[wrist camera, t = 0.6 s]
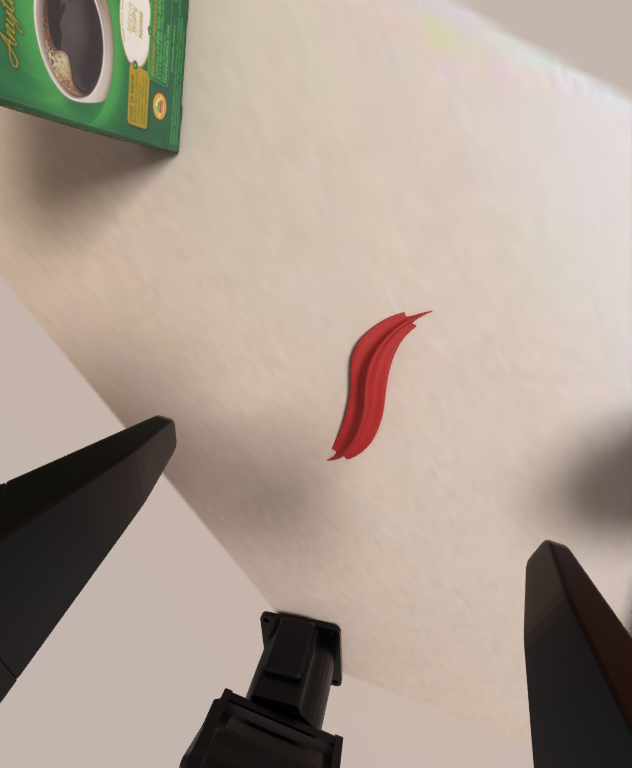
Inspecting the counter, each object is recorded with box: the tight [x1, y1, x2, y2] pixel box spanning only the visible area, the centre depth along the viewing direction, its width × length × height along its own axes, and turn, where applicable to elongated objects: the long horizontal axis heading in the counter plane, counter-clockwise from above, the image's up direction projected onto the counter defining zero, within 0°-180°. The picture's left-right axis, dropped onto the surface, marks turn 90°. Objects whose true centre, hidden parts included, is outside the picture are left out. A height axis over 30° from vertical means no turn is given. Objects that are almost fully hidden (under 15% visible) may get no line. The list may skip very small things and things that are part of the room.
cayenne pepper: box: [328, 311, 432, 461], centre depth 24 cm, size 12×5×2 cm, turn 144°
